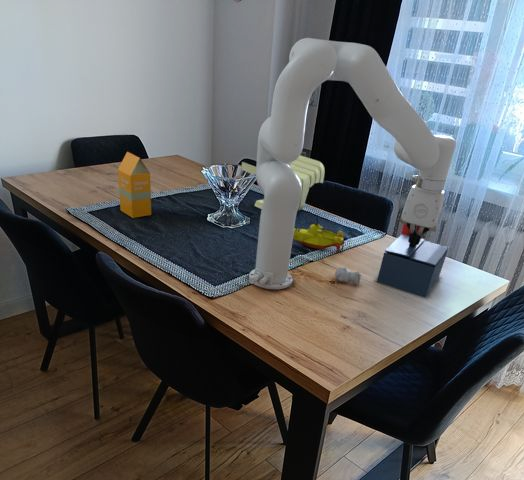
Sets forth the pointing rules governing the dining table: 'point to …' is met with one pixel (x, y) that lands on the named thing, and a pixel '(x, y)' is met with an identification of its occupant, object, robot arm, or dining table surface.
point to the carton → (413, 269)
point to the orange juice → (134, 187)
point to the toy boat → (319, 237)
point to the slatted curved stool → (306, 172)
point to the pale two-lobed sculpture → (347, 275)
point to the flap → (402, 246)
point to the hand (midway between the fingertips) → (412, 245)
